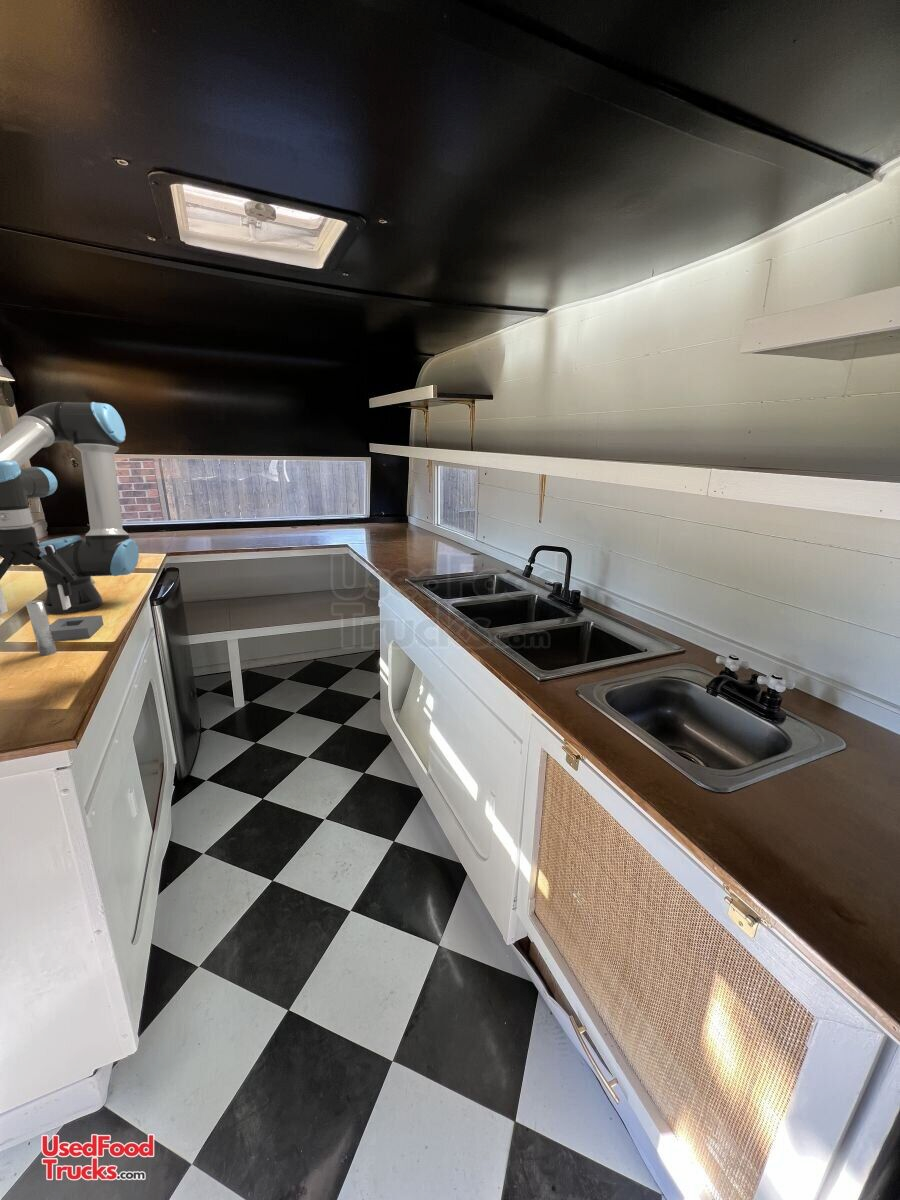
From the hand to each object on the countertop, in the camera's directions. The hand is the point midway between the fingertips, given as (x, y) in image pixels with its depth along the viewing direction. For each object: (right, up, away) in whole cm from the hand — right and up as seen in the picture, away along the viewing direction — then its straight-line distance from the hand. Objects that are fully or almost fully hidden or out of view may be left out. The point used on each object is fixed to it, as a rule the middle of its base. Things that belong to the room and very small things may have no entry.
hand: (35, 610), depth 123 cm
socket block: (-3, -7, +17) cm, 19 cm away
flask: (-36, +8, +63) cm, 73 cm away
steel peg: (0, -11, +4) cm, 12 cm away
